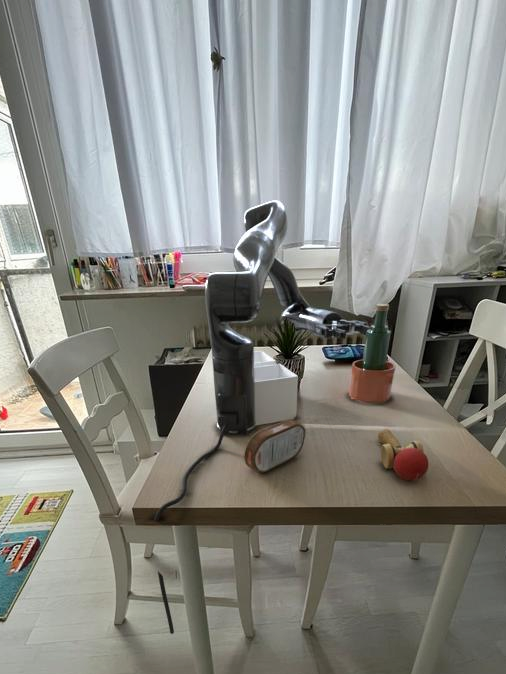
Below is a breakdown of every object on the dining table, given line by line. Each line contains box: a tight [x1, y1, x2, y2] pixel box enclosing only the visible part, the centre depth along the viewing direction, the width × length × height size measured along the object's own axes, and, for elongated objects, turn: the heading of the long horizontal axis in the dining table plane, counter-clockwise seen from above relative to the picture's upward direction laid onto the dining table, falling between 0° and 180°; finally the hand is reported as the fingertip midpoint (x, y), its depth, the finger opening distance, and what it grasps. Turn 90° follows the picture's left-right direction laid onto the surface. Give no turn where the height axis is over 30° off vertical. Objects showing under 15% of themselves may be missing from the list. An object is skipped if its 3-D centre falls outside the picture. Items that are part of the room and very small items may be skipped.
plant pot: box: [348, 359, 397, 404], centre depth 106 cm, size 11×11×9 cm
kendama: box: [377, 428, 430, 482], centre depth 77 cm, size 8×6×18 cm
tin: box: [243, 419, 306, 474], centre depth 77 cm, size 15×3×8 cm, turn 131°
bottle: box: [362, 303, 392, 371], centre depth 102 cm, size 6×6×23 cm
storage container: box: [254, 350, 299, 426], centre depth 104 cm, size 25×11×11 cm, turn 18°
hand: (357, 333), depth 106 cm, fingers open, 8 cm apart
